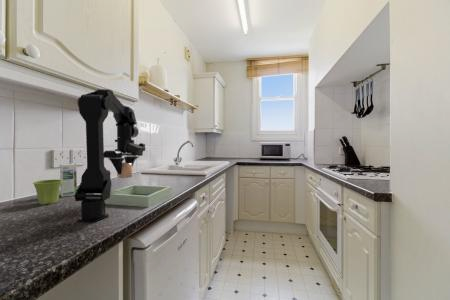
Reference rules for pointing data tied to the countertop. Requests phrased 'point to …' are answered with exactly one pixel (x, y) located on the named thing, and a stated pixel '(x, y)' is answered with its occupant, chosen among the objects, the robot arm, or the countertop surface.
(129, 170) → the seedling pot
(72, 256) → the countertop surface
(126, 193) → the green square tray
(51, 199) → the plant pot
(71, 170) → the syrup box
